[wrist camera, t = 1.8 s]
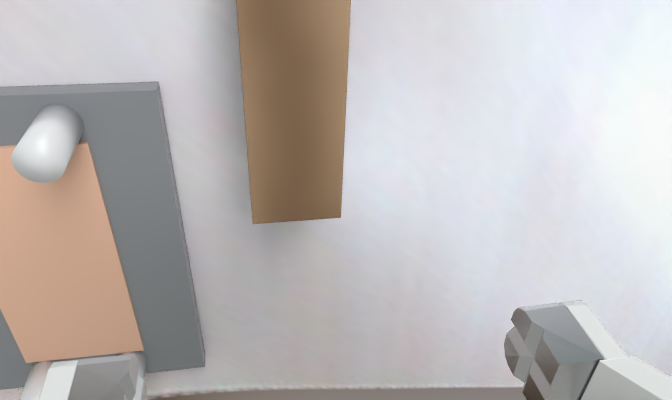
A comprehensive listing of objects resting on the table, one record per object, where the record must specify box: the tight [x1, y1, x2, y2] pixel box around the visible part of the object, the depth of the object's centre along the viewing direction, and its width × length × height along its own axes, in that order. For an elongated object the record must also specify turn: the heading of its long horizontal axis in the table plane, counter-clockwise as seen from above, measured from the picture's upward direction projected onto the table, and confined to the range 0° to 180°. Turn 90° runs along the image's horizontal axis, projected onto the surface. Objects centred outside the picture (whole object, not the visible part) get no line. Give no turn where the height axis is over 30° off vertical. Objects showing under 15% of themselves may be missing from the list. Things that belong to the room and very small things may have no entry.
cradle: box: [0, 82, 205, 400], centre depth 28 cm, size 14×20×4 cm
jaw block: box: [236, 0, 351, 224], centre depth 23 cm, size 4×11×6 cm, turn 178°
